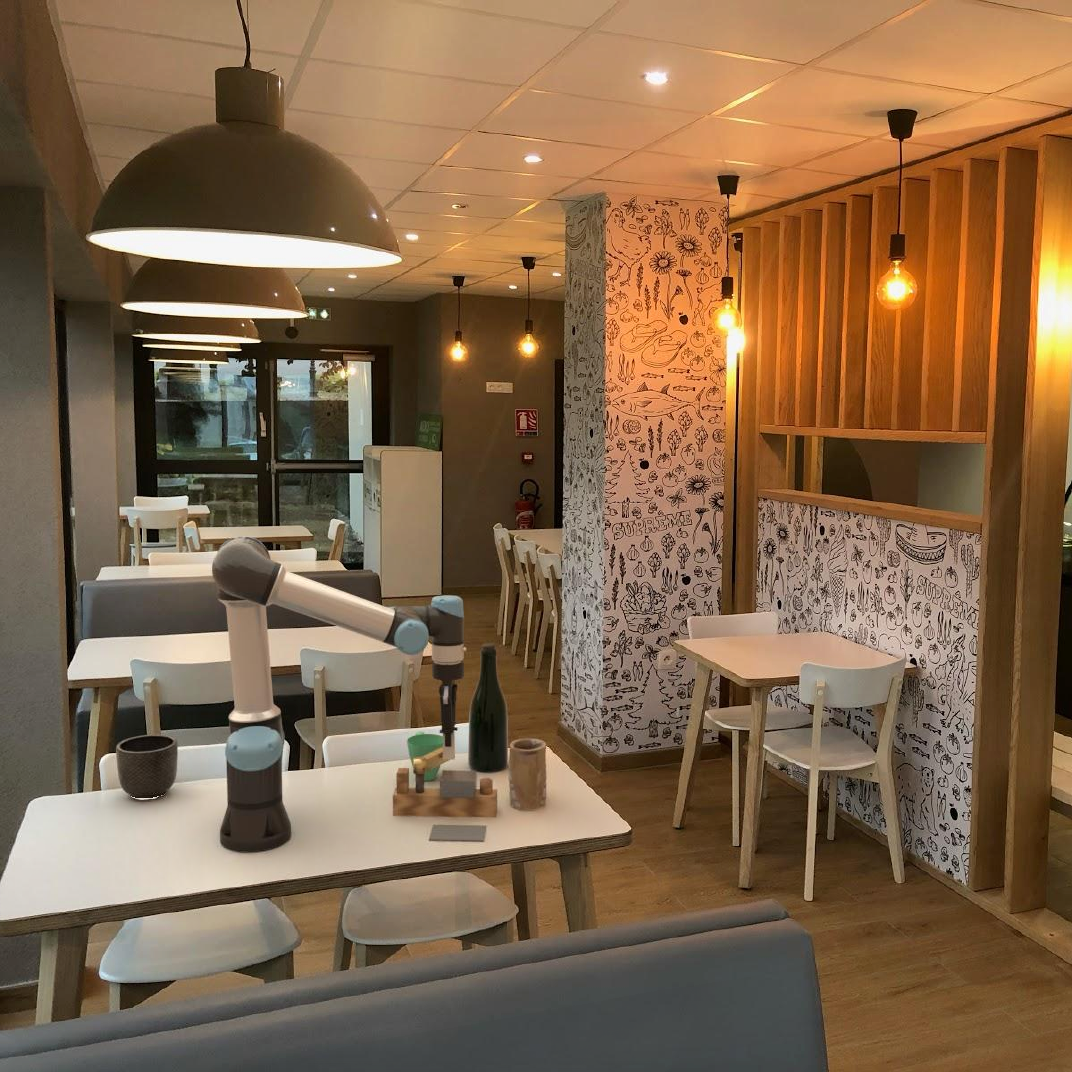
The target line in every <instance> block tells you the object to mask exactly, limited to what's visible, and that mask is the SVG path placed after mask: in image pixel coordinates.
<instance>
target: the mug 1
mask: <svg viewBox="0 0 1072 1072" xmlns="http://www.w3.org/2000/svg"><path fill="white" fill-rule="evenodd" d="M406 742H407V743H406V744H407V749H408V756H409V759H410V762H411V765H412V767H413V759H414V758H416V757H423V756H425V755H427V754H429V753H431V752H433V751H435V750H437V749H439V748H441V747H443V735H441V734H434V733H425V732H424V731H418V732H416V733H415V735H411V736H410V737H408V738H407V739H406ZM440 769H441V765H439V766H437V767H435V768H433V769H431V770H429V771H427V772H426V773H425V774H424V782H429V781H430V782H431V781H433V780H436V778H437V776H438V773H439V771H440Z"/></svg>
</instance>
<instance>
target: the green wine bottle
mask: <svg viewBox="0 0 1072 1072" xmlns="http://www.w3.org/2000/svg"><path fill="white" fill-rule="evenodd" d="M479 655H480V665H479V666H480V667H479V668H480V669H479V676H478V677H479V678H478V682H477V684H476V687H475V689H474V693H473V696H472V698H471V700H470V705H469V715H468V716H469V717H468V747H467V748H468V749H467V751H468V752H467V753H468V758H467V759H468V761H467V762H468V763H467V764H468V766H469V767H470V768H471V769H472V770H473V771H478V772H487V773H489V772H490V773H491V772H497V771H501V770H503V769H506V768H507V766H508V765H509V739H508V737H509V734H508V733H509V732H508V731H509V727H508V722H509V721H508V719H509V718H508V706H507V701H506V698H505V695H504V692H503V690H502V687H501V685H500V682H499V676H498V675H499V674H498V660H497V658H498V657H497V656H498V649H496V644H494V643H490V642H489V643H488V642H487V643H483V644H482V648H481V649H480V652H479Z"/></svg>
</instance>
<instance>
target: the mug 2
mask: <svg viewBox="0 0 1072 1072" xmlns="http://www.w3.org/2000/svg"><path fill="white" fill-rule="evenodd" d="M546 751H547V743H546V742H545V741H544V740H541V739H537V738H519V739H516V740H513V741H511V742H510V743H509V753H508V783H509V784H508V786H509V801H510V803H509V804H510V806H511V807H513V808H514V809H517V810H523V811H536V810H540V809H543V808H545V806H546V801H547V779H548V778H547V777H548V776H547V774H548V773H547V763H546V762H547V760H546V758H547V757H546V753H547V752H546Z"/></svg>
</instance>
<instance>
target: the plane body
mask: <svg viewBox="0 0 1072 1072" xmlns="http://www.w3.org/2000/svg"><path fill="white" fill-rule="evenodd" d="M395 776H396V787H395V789H394V790H393V791H394V792H393V794H392V816H399V817H400V816H401V817H449V818H450V817H452V818H453V817H455V818H456V817H461V818H497V814H498V789H497V788H496V789H495V788H494V789H493V786H494V785H493V783H494V781H493V779H492V778H490V777H483V778H480V779H479V788H476V793H475V798H440V787H437V788H436V787H434V788H433V787H431V788H429V787H425V781H424V774H420V775H418V774H415V787H410V768H408V767H398V769H397V771H396V775H395Z"/></svg>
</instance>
